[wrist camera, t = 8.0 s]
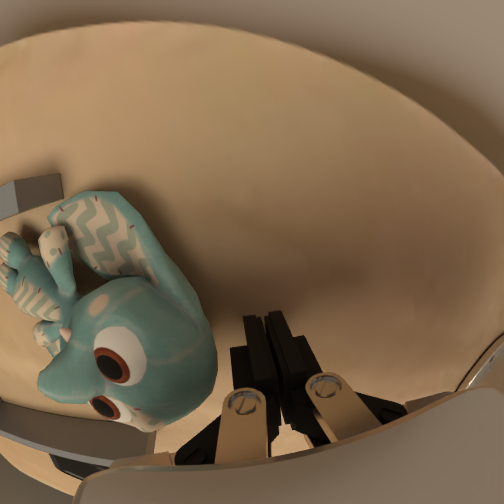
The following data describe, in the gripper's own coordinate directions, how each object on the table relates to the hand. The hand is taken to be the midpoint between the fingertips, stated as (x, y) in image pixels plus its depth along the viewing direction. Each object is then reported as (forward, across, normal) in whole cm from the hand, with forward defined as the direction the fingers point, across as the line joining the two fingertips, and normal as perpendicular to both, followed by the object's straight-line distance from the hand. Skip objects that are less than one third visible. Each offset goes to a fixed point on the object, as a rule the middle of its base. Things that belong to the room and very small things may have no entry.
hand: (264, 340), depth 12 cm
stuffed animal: (+2, +7, -2) cm, 8 cm away
